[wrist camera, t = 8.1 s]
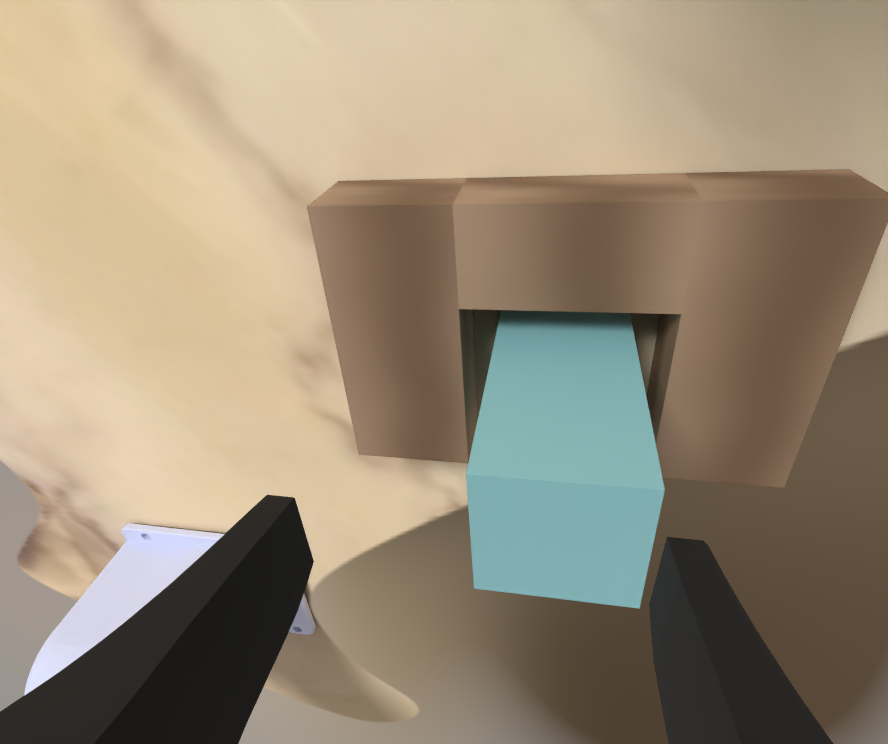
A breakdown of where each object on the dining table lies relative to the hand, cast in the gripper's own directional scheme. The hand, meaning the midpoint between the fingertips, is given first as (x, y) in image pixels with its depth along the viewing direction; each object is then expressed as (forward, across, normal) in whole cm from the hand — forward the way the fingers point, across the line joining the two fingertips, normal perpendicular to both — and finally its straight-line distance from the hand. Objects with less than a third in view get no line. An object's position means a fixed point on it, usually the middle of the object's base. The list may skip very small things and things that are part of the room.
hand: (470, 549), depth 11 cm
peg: (+9, -2, +1) cm, 10 cm away
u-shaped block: (+9, -2, 0) cm, 10 cm away
